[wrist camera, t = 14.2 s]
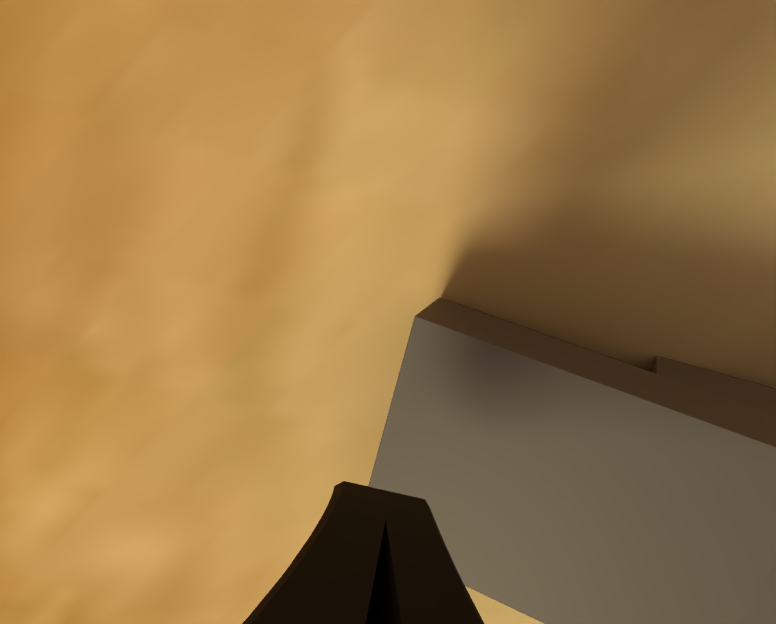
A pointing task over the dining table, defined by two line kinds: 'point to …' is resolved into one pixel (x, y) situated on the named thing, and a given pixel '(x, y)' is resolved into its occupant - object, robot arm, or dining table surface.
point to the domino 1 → (580, 476)
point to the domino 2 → (772, 605)
